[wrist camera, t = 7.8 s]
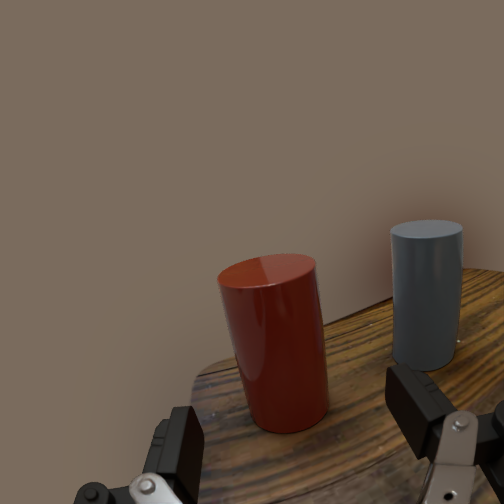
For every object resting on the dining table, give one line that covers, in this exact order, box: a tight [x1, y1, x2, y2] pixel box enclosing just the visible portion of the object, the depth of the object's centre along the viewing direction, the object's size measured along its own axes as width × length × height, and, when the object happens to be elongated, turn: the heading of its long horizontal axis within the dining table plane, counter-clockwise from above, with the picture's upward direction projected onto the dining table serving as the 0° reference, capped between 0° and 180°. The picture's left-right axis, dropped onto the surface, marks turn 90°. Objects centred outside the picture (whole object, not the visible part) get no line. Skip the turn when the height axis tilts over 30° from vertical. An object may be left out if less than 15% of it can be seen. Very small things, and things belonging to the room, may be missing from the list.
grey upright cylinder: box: [390, 220, 463, 371], centre depth 20 cm, size 5×5×10 cm
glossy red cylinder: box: [217, 254, 329, 433], centre depth 18 cm, size 5×5×10 cm
